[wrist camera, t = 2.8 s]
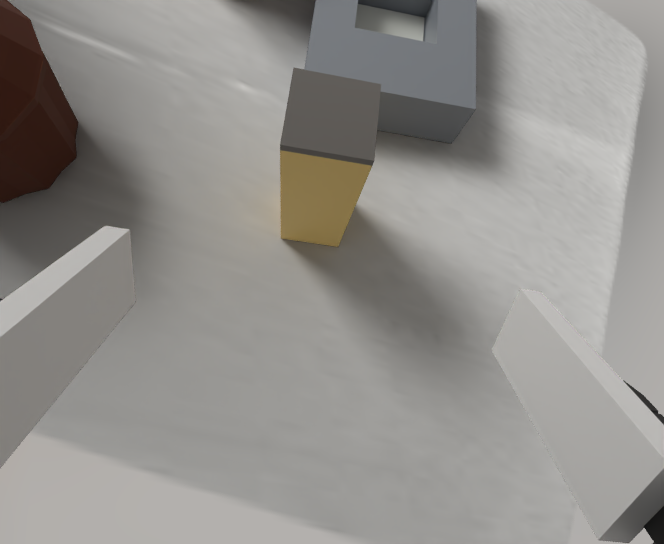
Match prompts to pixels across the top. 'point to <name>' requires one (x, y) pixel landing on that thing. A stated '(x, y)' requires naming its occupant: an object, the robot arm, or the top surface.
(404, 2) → the socket plate
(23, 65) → the muffin
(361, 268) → the top surface
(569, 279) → the top surface
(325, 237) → the plug
